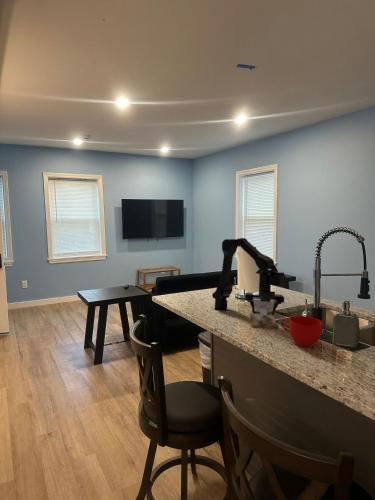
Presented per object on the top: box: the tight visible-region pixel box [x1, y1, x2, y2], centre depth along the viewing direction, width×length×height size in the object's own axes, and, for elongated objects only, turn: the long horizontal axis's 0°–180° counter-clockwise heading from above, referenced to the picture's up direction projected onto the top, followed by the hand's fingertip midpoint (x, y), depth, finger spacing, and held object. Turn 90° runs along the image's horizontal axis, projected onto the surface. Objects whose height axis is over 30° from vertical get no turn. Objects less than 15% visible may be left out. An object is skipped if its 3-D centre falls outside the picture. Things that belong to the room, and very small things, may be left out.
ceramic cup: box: [280, 315, 324, 348], centre depth 140 cm, size 13×17×10 cm
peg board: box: [249, 312, 279, 330], centre depth 168 cm, size 12×19×4 cm, turn 172°
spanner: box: [259, 309, 268, 323], centre depth 168 cm, size 3×11×4 cm, turn 166°
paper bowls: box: [248, 299, 274, 314], centre depth 188 cm, size 15×15×8 cm
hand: (263, 314), depth 168 cm, fingers open, 9 cm apart
